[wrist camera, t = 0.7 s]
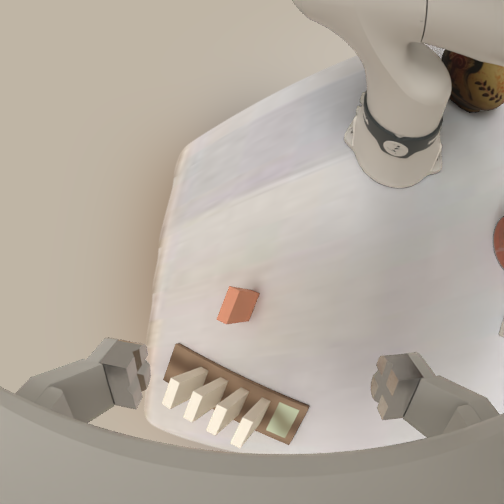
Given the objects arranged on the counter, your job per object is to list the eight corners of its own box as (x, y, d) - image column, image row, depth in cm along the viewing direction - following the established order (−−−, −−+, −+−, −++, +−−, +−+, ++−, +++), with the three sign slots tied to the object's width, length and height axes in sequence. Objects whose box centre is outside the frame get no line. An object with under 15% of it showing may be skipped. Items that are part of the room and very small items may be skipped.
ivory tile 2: (251, 420, 45) (230, 443, 36) (262, 397, 45) (242, 417, 36) (259, 424, 44) (240, 448, 35) (270, 401, 45) (253, 422, 35)
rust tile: (240, 317, 50) (216, 319, 41) (251, 290, 50) (229, 286, 41) (248, 321, 49) (226, 324, 40) (259, 293, 50) (239, 290, 40)
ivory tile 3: (230, 410, 46) (205, 430, 37) (240, 387, 47) (217, 404, 37) (238, 414, 46) (215, 435, 36) (249, 391, 46) (227, 409, 37)
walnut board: (179, 343, 53) (175, 343, 51) (309, 405, 44) (308, 408, 43) (166, 378, 52) (163, 379, 51) (290, 442, 43) (288, 445, 42)
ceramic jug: (503, 131, 40) (561, 36, 11) (441, 117, 45) (479, -1, 16) (485, 73, 42) (516, -20, 14) (428, 60, 47) (442, -46, 19)
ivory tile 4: (211, 399, 48) (183, 417, 38) (220, 376, 48) (193, 390, 39) (218, 404, 47) (192, 422, 38) (228, 381, 47) (202, 396, 38)
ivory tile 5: (192, 389, 49) (161, 403, 40) (201, 366, 49) (170, 377, 40) (199, 393, 48) (170, 409, 39) (208, 370, 49) (179, 382, 39)
